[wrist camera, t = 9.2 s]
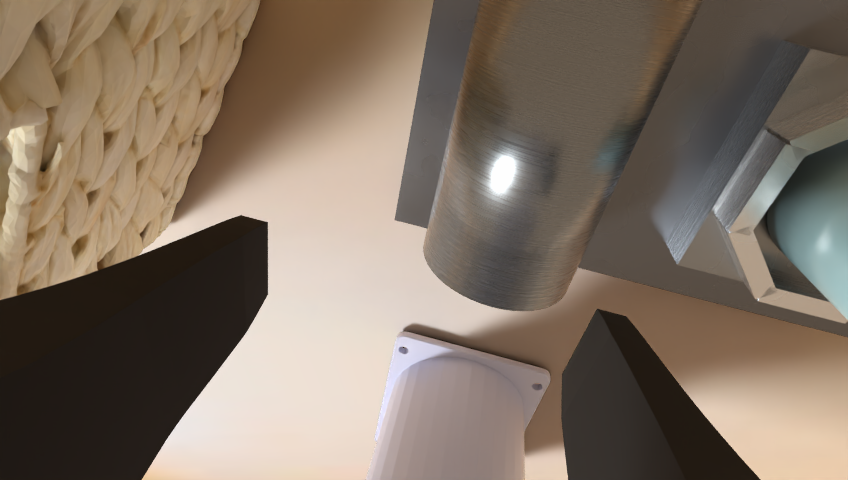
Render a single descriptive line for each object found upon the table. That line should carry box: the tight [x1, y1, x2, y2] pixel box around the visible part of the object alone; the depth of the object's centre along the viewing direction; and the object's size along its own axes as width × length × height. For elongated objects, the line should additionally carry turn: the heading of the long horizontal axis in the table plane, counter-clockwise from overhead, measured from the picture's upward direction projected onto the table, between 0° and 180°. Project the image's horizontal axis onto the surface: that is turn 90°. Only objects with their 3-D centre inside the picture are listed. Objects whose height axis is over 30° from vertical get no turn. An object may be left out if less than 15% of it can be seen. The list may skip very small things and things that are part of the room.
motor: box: [395, 0, 848, 337], centre depth 13 cm, size 11×18×6 cm, turn 79°
